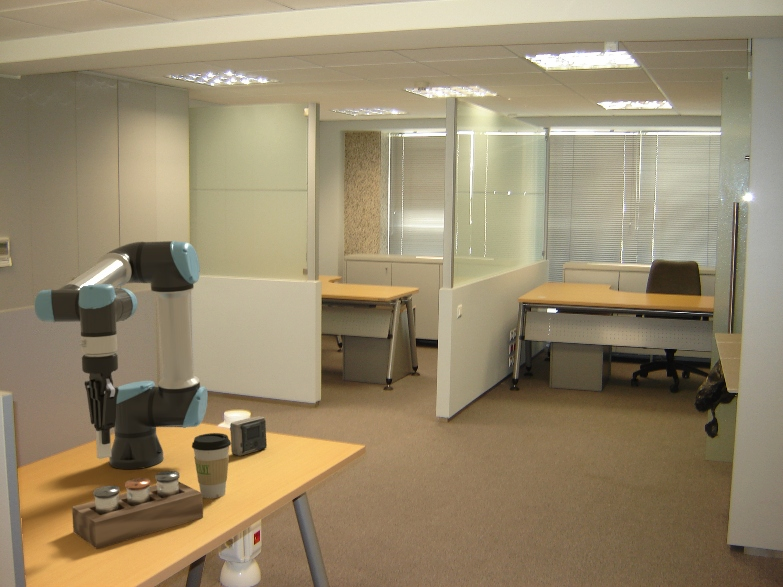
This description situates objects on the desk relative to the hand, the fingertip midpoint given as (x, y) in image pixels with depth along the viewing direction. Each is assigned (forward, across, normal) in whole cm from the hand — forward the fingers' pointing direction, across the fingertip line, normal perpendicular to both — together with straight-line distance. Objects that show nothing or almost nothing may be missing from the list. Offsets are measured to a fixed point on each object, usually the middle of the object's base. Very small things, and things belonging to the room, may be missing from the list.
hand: (104, 457), depth 182 cm
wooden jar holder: (+18, 0, +8) cm, 20 cm away
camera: (+18, -31, +58) cm, 68 cm away
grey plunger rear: (+14, 0, +15) cm, 21 cm away
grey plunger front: (+15, 0, 0) cm, 15 cm away
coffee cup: (+18, -6, +31) cm, 36 cm away
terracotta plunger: (+15, 0, +8) cm, 16 cm away
